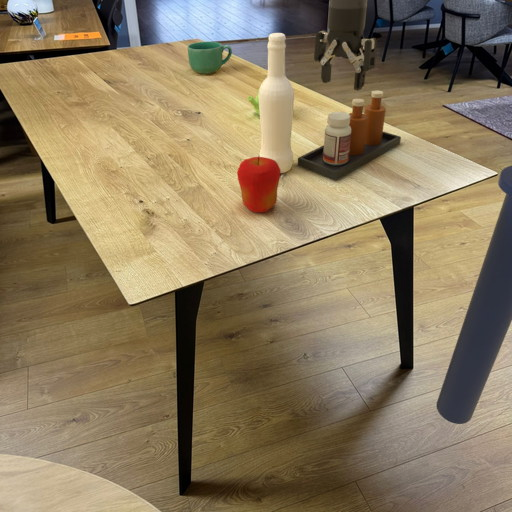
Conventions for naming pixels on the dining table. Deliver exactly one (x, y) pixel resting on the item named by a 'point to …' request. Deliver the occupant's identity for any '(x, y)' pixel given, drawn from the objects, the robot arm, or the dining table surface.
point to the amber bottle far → (375, 119)
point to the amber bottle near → (357, 127)
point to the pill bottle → (337, 139)
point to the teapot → (255, 102)
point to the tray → (335, 172)
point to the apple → (259, 183)
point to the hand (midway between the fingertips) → (341, 85)
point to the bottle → (276, 107)
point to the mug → (207, 56)
